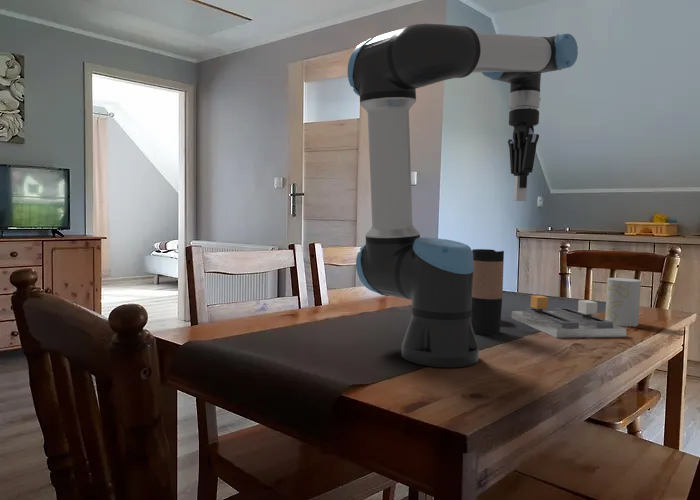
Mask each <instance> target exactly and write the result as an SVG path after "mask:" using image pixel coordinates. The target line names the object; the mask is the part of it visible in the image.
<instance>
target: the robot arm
mask: <svg viewBox="0 0 700 500" xmlns="http://www.w3.org/2000/svg"><path fill="white" fill-rule="evenodd" d="M578 55H579V51H578V42H577V40H576V38H575V37H574V35H572V34H571V33H562V34H559V33H558V34H556V35H553V36H552V35H551V36H532V35H531V36H530V35H519V34H518V35H516V34H515V35H514V34H502V33H486V32H476V31H475V30H474V29H473V28H472V27H469V26H466V25H455V24H453V25H452V24H441V23H440V24H439V23H416V24H411V25H407V26H405V27H402V28H398V29H396V30H393V31H390V32H386V33H383V34H380V35H376V36H372V37H370V38H369V39H367V40H366V41H362V42H361V43H360V44H358V45H357V46H356V47H355V48H354V49H353V51H352V52H351V54H350V56H349V60H348V63H347V78H348V79H347V80H348V82H349V85H350V87H352V91H353V92H354V93H355V95H357V96H359V105H360V106H361V107H362V108H363V109H364V110H365V111H366V112H367V126H368V128H367V129H368V153H369V180H370V198H371V199H370V200H371V202H370V204H371V206H370V207H371V224H372V225H371V228H370V229H369V230H368V231H367V232H366V234H365V243H364V244H363V245H361V247H360V248H359V250H360V251H359V252H357V254H356V258H355V270H356V273H357V276H358V278H359V281H360V282H361V284H362V285H363V286H364V287H365V288H366V289H368V290H369V291H371V292H372V293H373V292H374V293H377V294H379V295H381V296H386V297H395V298H401V299H406V300H411V314H410V315H411V316H410V317H411V318H410V321H409V323H408V326H407V328H406V332H405V334H404V338H403V340H402V342H401V349H400V350H401V355H400V356H401V357H402V358H403V359H404V360H405V361H407V362H410V363H414V364H417V365H421V366H426V367H427V366H428V367H434V368H463V367H469V366H473V365H475V364H477V363H478V362H479V357H480V356H479V355H480V349H479V344H478V341H477V338H476V334H475V333H474V330H473V327H472V323H471V307H472V288H473V271H474V265H473V252H472V250H473V249H472V248H471V247H470V246H469V245H468V244H466V243H463V242H460V241H456V240H451V239H445V238H443V239H442V238H438V237H426V236H425V237H421V233H420V231H419V230H418V229H417V228H416V227H415V226H414V225H413V201H412V200H413V197H412V169H411V167H412V166H411V164H412V163H411V138H410V135H411V134H410V110H411V108H412V107H413V106H414V104H415V103H416V102H417V92H416V90H417V89H420V88H423V87H427V86H429V85H433V84H437V83H440V82H443V81H448V80H452V79H462V78H466V77H469V76H470V75H471V74H473V73H481V74H482V75H483V76H485V77H487V78H489V79H491V80H493V81H499V82H502V83H503V82H504V83H507V84H509V85H510V86H509V87H510V90H509V103H508V105H509V106H508V108H509V110H510V111H509V112H508V125H509V126H510V127H513V131H512V138H510V139H509V138H508V139H507V144H508V148H509V149H508V152H509V164H510V167H509V168H510V173H511V175H513V176H514V190H513V191H514V194H513V195H514V196H513V201H514V202H527V193H528V176H529V175H530V173H533V170H534V162H535V158H536V151H537V146H538V145H537V144H538V142H539V139H540V134H539V133H535V128H534V127H536V126H537V125H539V124H540V111H539V108H540V102H541V99H542V98H541V82H542V81H541V79H542V78H541V77H542V74H543V73H544V74H545V73H549V72H551V73H552V72H555V71H562V70H564V69H567V68H568V69H569V68H571V67H573V66H574V65H575V63H576V61H577V60H578Z"/></svg>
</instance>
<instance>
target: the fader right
mask: <svg viewBox="0 0 700 500" xmlns="http://www.w3.org/2000/svg"><path fill="white" fill-rule="evenodd" d="M577 303H578V306H577V311H578V312H580V313H583V317H586V318H589V319H591V315H592V316H593V315H598V302H597V301H593V300H589V299H588V300H585V299H579V300H578V301H577Z"/></svg>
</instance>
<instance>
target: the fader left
mask: <svg viewBox="0 0 700 500" xmlns="http://www.w3.org/2000/svg"><path fill="white" fill-rule="evenodd" d="M548 305H549V297H547V296H544V295H530V307H529V308H535V311H537V312H539V313H542V312H543V310H548Z"/></svg>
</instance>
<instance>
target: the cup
mask: <svg viewBox="0 0 700 500" xmlns="http://www.w3.org/2000/svg"><path fill="white" fill-rule="evenodd" d="M606 282H607V283H606V284H607V285H606V301H605V317H604V320H607V321H611V322H613V325H617V326H620V327H628V326H629V327H631V326H633V327H637V326H639V321H640V319H639V317H640V305H641V304H640V302H641V283H642V280H641V279H635V278H627V277H626V278H625V277H607V281H606Z"/></svg>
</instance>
